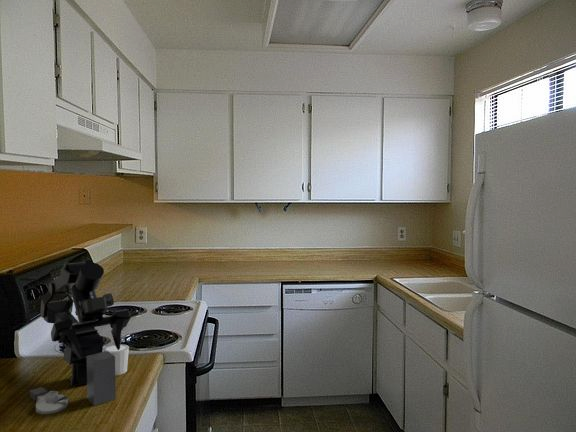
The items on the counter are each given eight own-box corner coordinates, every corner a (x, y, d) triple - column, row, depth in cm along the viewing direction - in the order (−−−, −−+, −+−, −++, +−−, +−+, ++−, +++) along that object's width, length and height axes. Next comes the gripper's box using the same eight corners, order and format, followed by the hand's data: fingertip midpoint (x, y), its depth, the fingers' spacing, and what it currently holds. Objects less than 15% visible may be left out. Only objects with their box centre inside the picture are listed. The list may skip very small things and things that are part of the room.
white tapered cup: (111, 366, 131) (111, 343, 131) (133, 367, 130) (133, 344, 130) (99, 375, 124) (98, 351, 124) (122, 377, 124) (121, 352, 123)
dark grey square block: (87, 398, 111) (86, 355, 110) (108, 392, 114) (107, 351, 114) (94, 405, 107) (93, 361, 106) (115, 399, 110) (114, 356, 110)
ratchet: (72, 406, 106) (72, 392, 106) (42, 417, 101) (42, 402, 101) (50, 390, 115) (49, 376, 115) (21, 399, 110) (21, 385, 110)
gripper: (52, 289, 107) (66, 346, 99) (128, 279, 119) (145, 329, 112) (45, 314, 113) (57, 368, 106) (117, 302, 126) (133, 350, 118)
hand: (100, 353), depth 110 cm, fingers open, 9 cm apart
